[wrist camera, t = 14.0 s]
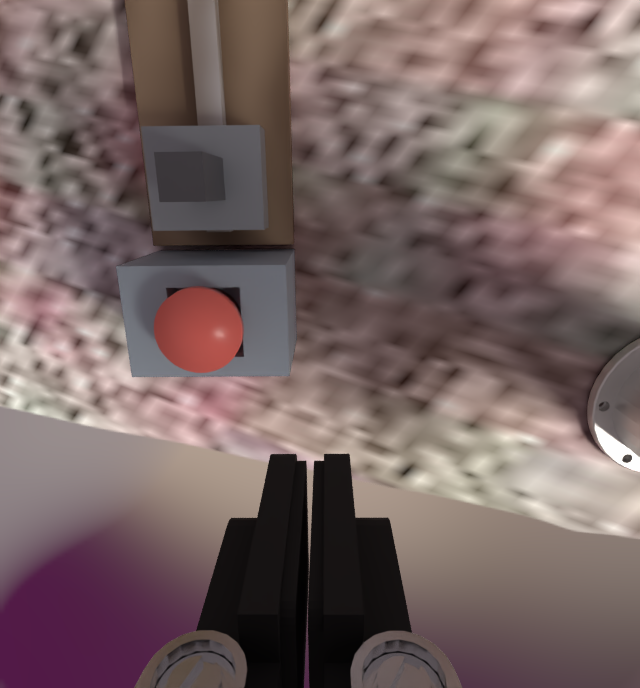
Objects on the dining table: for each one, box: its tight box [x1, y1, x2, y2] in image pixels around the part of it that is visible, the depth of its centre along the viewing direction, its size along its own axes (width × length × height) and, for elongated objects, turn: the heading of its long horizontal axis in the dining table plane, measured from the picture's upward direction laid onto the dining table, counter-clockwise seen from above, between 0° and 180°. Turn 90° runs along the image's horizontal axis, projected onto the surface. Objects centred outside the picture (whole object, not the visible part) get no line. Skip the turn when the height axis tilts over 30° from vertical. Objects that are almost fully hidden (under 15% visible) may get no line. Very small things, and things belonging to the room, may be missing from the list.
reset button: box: [154, 286, 244, 373], centre depth 29 cm, size 5×5×4 cm
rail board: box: [125, 0, 294, 246], centre depth 29 cm, size 10×24×4 cm, turn 1°
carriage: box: [141, 125, 269, 231], centre depth 28 cm, size 7×6×8 cm
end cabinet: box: [116, 249, 297, 377], centre depth 32 cm, size 10×7×8 cm
